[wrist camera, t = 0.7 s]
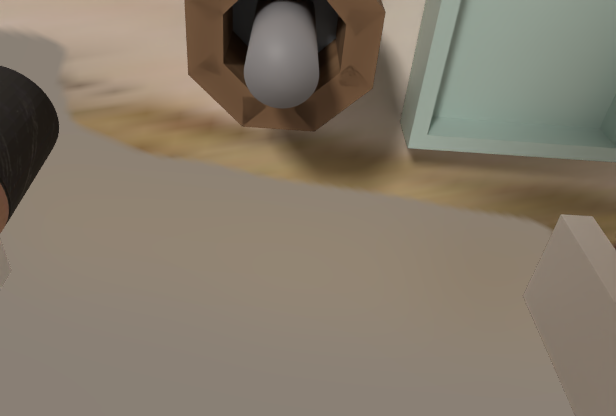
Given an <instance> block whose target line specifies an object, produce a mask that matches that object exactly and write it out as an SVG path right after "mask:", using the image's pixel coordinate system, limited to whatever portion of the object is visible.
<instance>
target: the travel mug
mask: <svg viewBox="0 0 616 416" xmlns="http://www.w3.org/2000/svg"><path fill="white" fill-rule="evenodd" d="M58 133H59V121H58V117H57V113H56V111H55V108H54V106H53V104H52V103H51V101H50V99H49V98H48V97H47V95H46V94H45V93H44V92H43V91H42V89H41V88H39V87H38V86H37V85H36V84H35V83H34V82H32V81H31V80H30V79H28V78H27V77H25V76H24V75H22V74H20V73H18V72H16V71H14V70H11V69H9V68H6V67H2V66H0V233H1V232H2V230H3V229H4V227H5V225H6V224H7V222H8V221H9V219H10V217H11V216H12V214H13V213H14V211H15V209H16V208H17V206H18V204H19V203H20V201H21V199H22V198H23V196H24V195H25V193H26V191H27V190H28V188H29V186H30V185H31V183H32V182H33V180H34V178H35V177H36V175H37V173H38V172H39V170H40V169H41V167H42V165H43V164H44V162H45V160H46V159H47V157H48V155H49V154H50V152H51V150H52V149H53V147H54V145H55V143H56V140H57V138H58Z"/></svg>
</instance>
